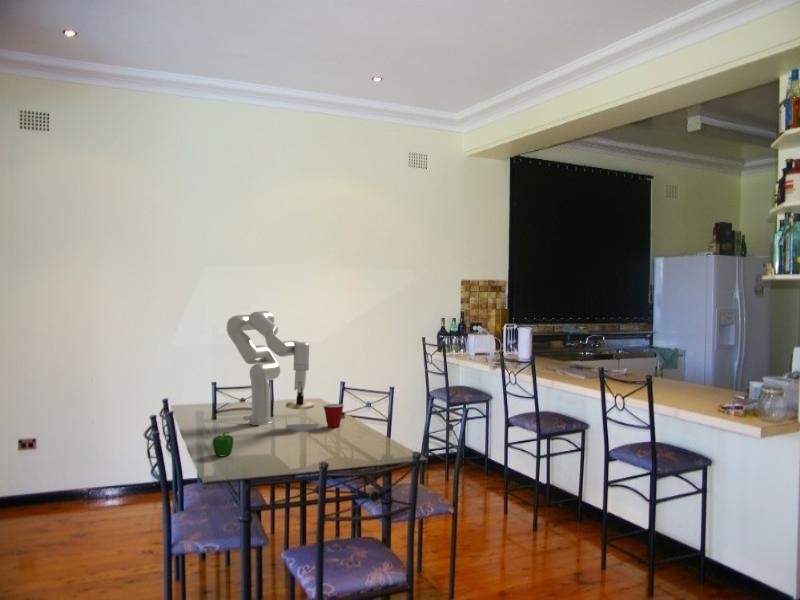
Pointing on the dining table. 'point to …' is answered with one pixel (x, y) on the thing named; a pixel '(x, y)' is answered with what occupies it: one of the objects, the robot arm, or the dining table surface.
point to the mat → (301, 427)
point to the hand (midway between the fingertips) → (299, 402)
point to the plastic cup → (333, 414)
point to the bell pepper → (223, 444)
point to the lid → (300, 405)
